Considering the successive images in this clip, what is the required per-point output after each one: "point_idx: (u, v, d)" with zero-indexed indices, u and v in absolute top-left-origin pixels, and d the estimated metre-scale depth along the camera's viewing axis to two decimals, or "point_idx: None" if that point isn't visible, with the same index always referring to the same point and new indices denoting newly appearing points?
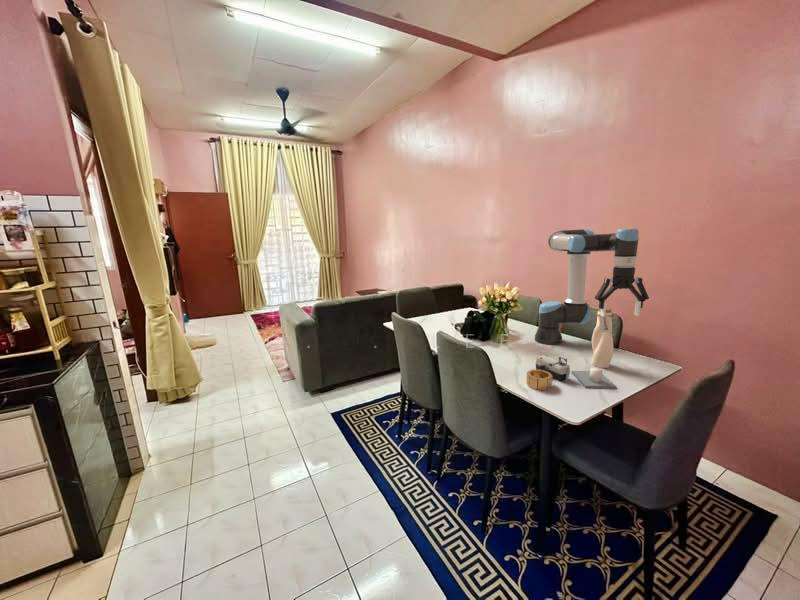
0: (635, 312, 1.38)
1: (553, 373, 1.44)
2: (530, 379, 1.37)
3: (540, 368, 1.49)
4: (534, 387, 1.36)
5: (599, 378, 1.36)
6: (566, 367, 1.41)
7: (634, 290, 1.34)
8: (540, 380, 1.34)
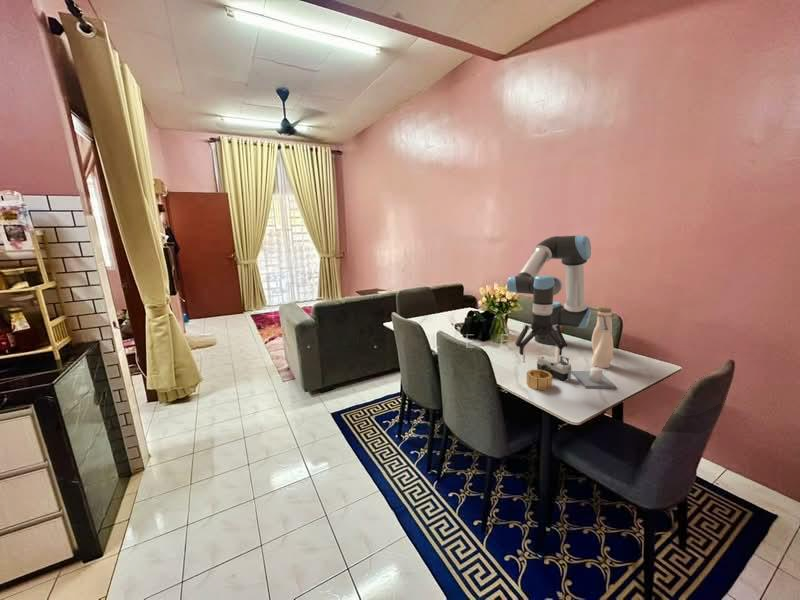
0: (555, 358, 1.36)
1: (554, 372, 1.45)
2: (530, 379, 1.37)
3: (542, 368, 1.49)
4: (534, 387, 1.36)
5: (599, 378, 1.36)
6: (568, 366, 1.42)
7: (552, 337, 1.33)
8: (540, 380, 1.34)
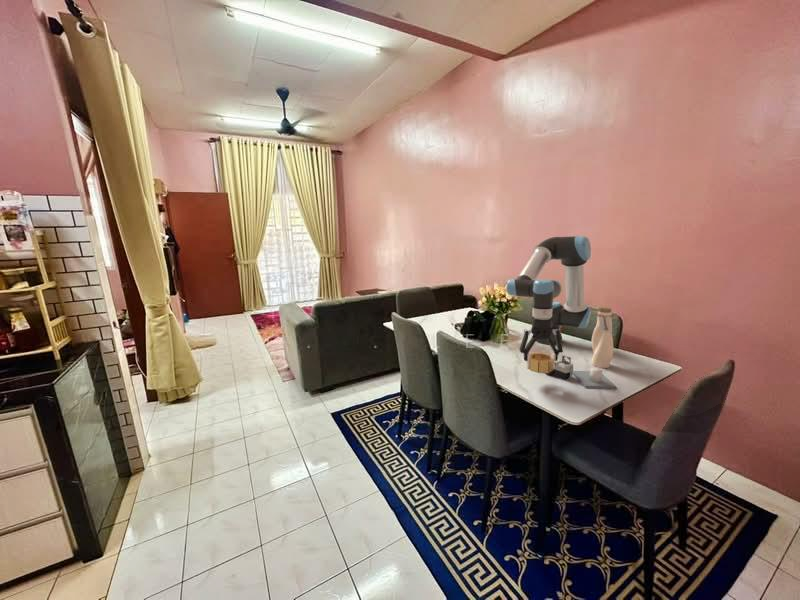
0: None
1: (556, 372, 1.45)
2: (531, 362, 1.35)
3: None
4: (535, 370, 1.35)
5: (599, 378, 1.36)
6: (570, 365, 1.42)
7: (550, 342, 1.34)
8: (541, 363, 1.33)
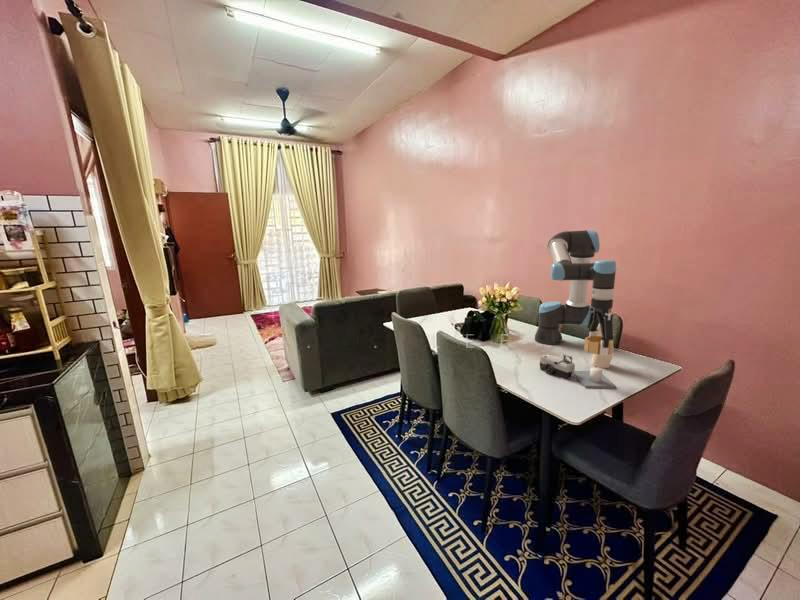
0: None
1: (558, 371, 1.46)
2: None
3: (545, 367, 1.50)
4: None
5: (599, 378, 1.36)
6: (571, 365, 1.43)
7: (601, 325, 1.30)
8: (585, 340, 1.37)
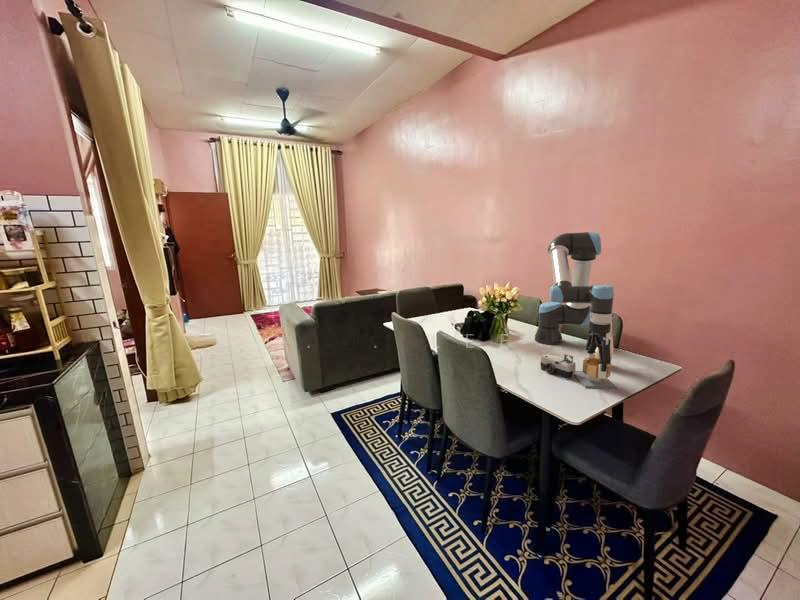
0: None
1: (559, 370, 1.46)
2: None
3: (546, 366, 1.50)
4: None
5: (599, 378, 1.36)
6: (572, 364, 1.44)
7: (599, 349, 1.32)
8: (584, 362, 1.39)
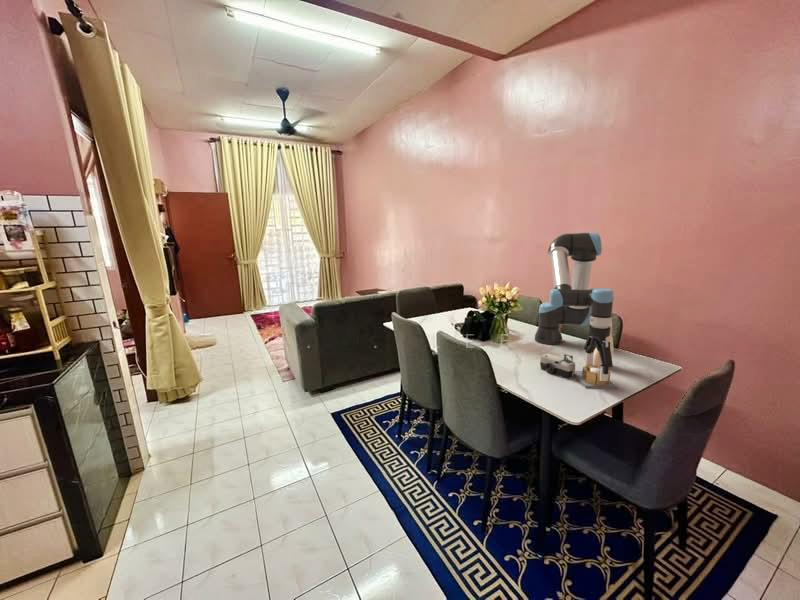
0: None
1: (559, 370, 1.46)
2: None
3: (546, 366, 1.51)
4: None
5: None
6: (572, 364, 1.44)
7: (599, 352, 1.32)
8: (583, 370, 1.39)
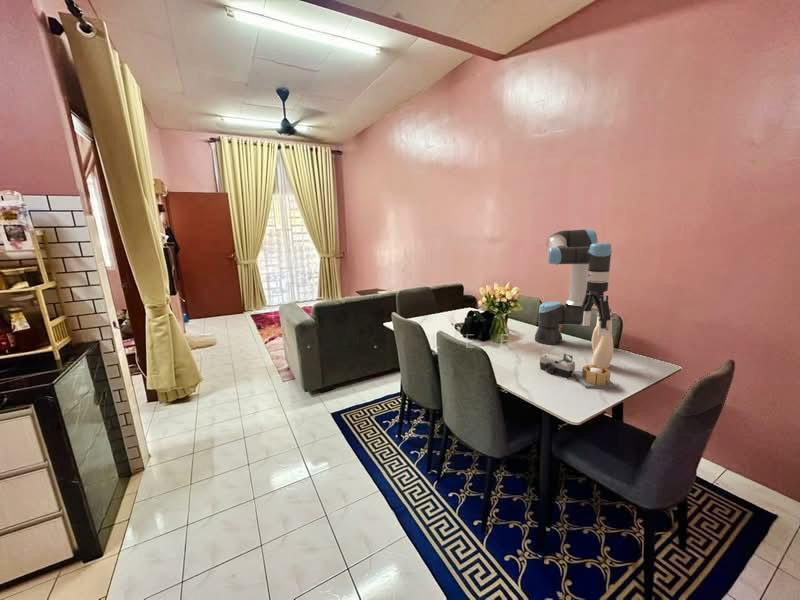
0: None
1: (559, 370, 1.47)
2: None
3: (545, 366, 1.51)
4: None
5: None
6: (572, 364, 1.44)
7: (597, 307, 1.31)
8: (583, 370, 1.39)
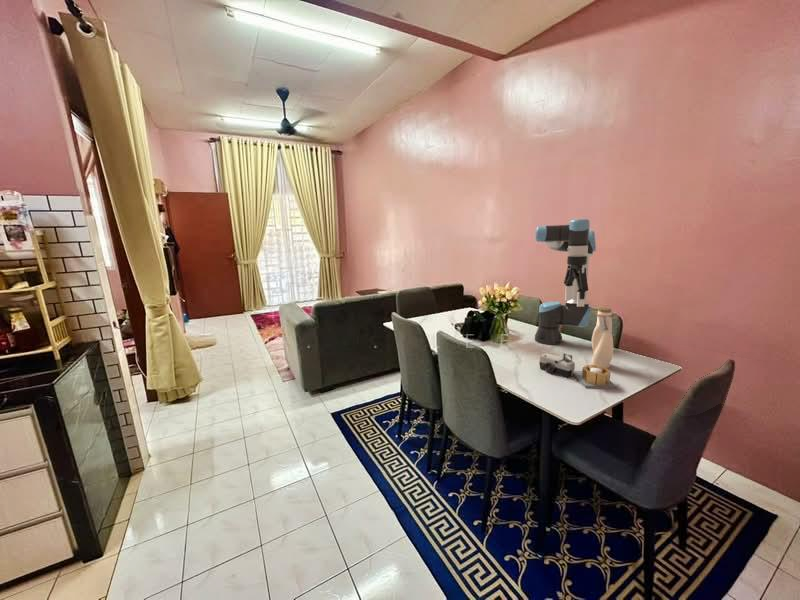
0: None
1: (559, 370, 1.47)
2: None
3: (545, 366, 1.51)
4: None
5: None
6: (572, 363, 1.45)
7: (576, 279, 1.39)
8: (583, 370, 1.39)
